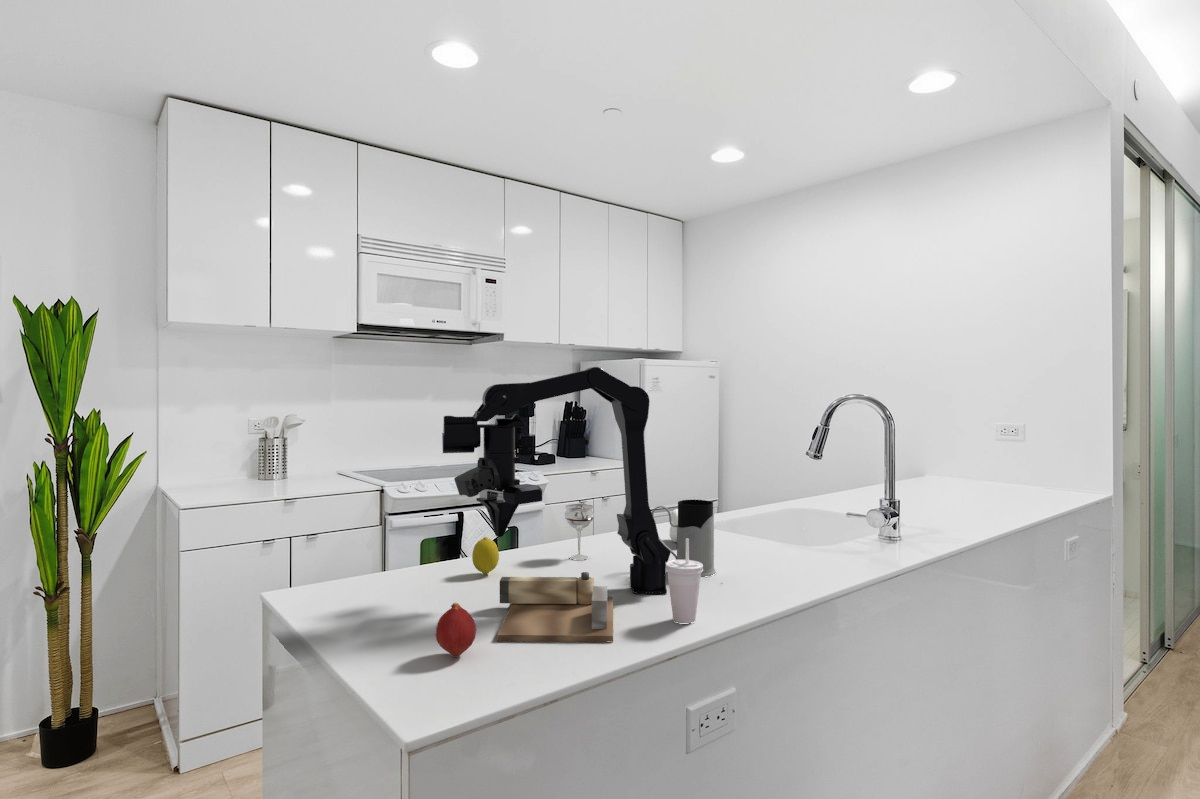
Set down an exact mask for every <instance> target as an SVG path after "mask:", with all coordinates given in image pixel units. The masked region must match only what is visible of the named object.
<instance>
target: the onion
mask: <svg viewBox="0 0 1200 799" xmlns="http://www.w3.org/2000/svg"><path fill="white" fill-rule="evenodd" d="M476 635H477V624H476V621H475V619H474V617H473V616H472V615H471V614H470V612H468V611H467V610H466V609H465V608H463V607H462V606H461V605H460V603H459V602H453V603H452V604H451V605H450V608H449V609H448V610H447V611H445V612H444V613H443V614H442V615H441V616H440V618H439V619H438V621H437V625H436V628H435V638H436V642H437V643H438V645H439V646H440V647H441V648H442V650H444V651H446V652H447V653H449V655H451V656H452V657H453V658H457V657H460V656H461V655H462V654H463V653H464V652H466V651H467V650H468V649H469V648H470V647H471V646H472V645H473V642H474V641H475V638H476Z"/></svg>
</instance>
